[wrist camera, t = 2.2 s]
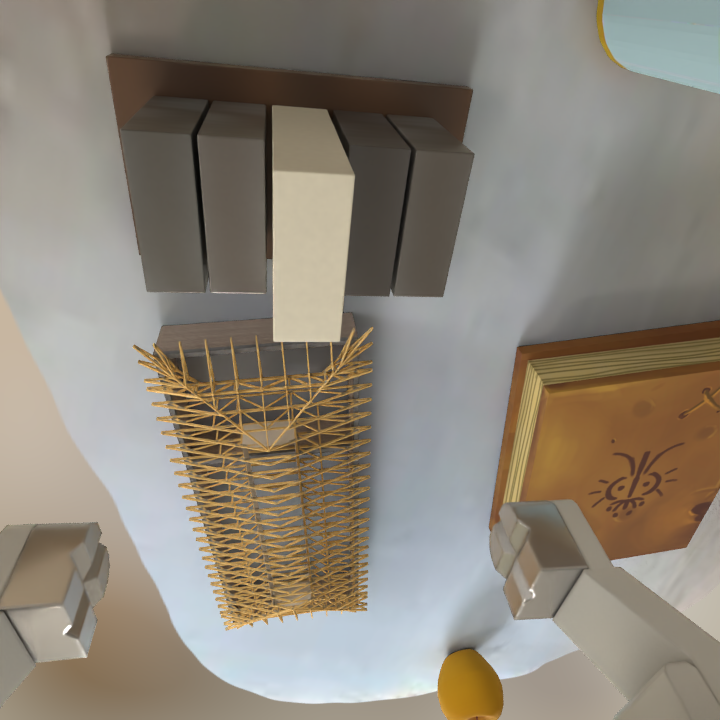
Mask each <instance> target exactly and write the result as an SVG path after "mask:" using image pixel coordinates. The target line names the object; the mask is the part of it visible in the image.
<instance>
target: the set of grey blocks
mask: <svg viewBox="0 0 720 720" xmlns="http://www.w3.org/2000/svg"><path fill="white" fill-rule="evenodd" d="M106 61H107V67H108V73H109V79H110V85H111V91H112V96H113V102H114V108H115V114H116V120H117V126H118V132H119V138H120V144H121V150H122V155H123V161H124V167H125V173H126V179H127V185H128V191H129V197H130V203H131V208H132V214H133V220H134V226H135V232H136V238H137V244H138V250H139V255H141V259H142V265H143V271H144V277H145V283H146V289H147V292H171V293H205V292H206V287H207V282H208V278H209V285H210V292H211V293H244V294H266V292H267V259H273V240H272V105H278V106H290V107H303V108H315V109H326V110H327V111H328V114H329V116H330V118H331V121H332V123H333V125H334V128H335V130H336V132H337V135H338V137H339V139H340V142H341V144H342V146H343V149H344V151H345V153H346V156H347V158H348V160H349V163H350V165H351V167H352V170H353V172H354V174H355V182H354V193H353V204H352V215H351V226H350V237H349V248H348V259H347V270H346V281H345V292H344V296H389V294H390V288H391V290H392V293H393V296H408V297H443V294H444V290H445V285H446V281H447V276H448V272H449V267H450V263H451V258H452V254H453V249H454V245H455V240H456V236H457V231H458V227H459V222H460V218H461V213H462V209H463V204H464V200H465V195H466V190H467V186H468V181H469V177H470V172H471V168H472V163H473V159H474V153H473V152H472V151H471V150H469V149H468V148H467V147H466V146H465V145H464V144H462V142H463V137H464V132H465V127H466V122H467V118H468V113H469V108H470V103H471V98H472V93H473V89H471V88H469V87H467V86H458V85H447V84H436V83H425V82H415V81H404V80H393V79H382V78H371V77H360V76H350V75H339V74H328V73H317V72H306V71H295V70H285V69H274V68H263V67H252V66H241V65H230V64H220V63H209V62H198V61H187V60H176V59H165V58H155V57H144V56H133V55H122V54H110V55H107V56H106Z"/></svg>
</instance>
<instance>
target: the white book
mask: <svg viewBox="0 0 720 720" xmlns="http://www.w3.org/2000/svg"><path fill="white" fill-rule="evenodd" d="M354 182H355V174H354V172H353V170H352V167H351V165H350V163H349V160H348V158H347V156H346V153H345V151H344V149H343V146H342V144H341V142H340V139H339V137H338V135H337V132H336V130H335V128H334V125H333V123H332V121H331V118H330V116H329V114H328V111H327V110H326V109H315V108H303V107H290V106H278V105H272V240H273V341H274V342H340V336H341V325H342V314H343V303H344V292H345V281H346V270H347V259H348V248H349V237H350V226H351V215H352V204H353V193H354Z"/></svg>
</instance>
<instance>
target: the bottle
mask: <svg viewBox="0 0 720 720" xmlns="http://www.w3.org/2000/svg"><path fill="white" fill-rule="evenodd" d="M597 27H598V33H599V39H600V42H601V44H602V46H603V48H604V50H605V52H606V53H607V55H608V57H609V58H610V59H611V60H612V61H614V62H615V63H616V64H618V65H619V66H620V67H622V68H624V69H627V70H630V71H633V72H636V73H640V74H644V75H648V76H652V77H656V78H660V79H664V80H668V81H671V82H675V83H679V84H683V85H687V86H691V87H695V88H699V89H703V90H706V91H710V92H714V93H718V94H720V0H598V7H597Z"/></svg>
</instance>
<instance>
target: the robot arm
mask: <svg viewBox="0 0 720 720" xmlns="http://www.w3.org/2000/svg"><path fill="white" fill-rule="evenodd" d="M498 514H499V516H500V519H501V520H500V521H499V522H498V523H496V524H495V525H494V526H493V527H492V530H491V533H490V553H491V558H492V561H493V564H494V567H495V569H496V570H497V571H498V572H499V573H500V574H501V575H502V576H503V577H504V578H505V579H506V581H505V584H504V588H503V591H504V594H505V596H506V599H507V602H508V604H509V607H510V609H511V612H512V615H513V617H514V620H525V619H543V618H553V621H554V623H555V624H556V625H557V626H558V627H559V628H560V629H561V630H562V631H563V632H564V633H565V634H566V635H567V636H568V637H569V638H570V640H571V641H572V642H573V643H574V644H575V645H576V646H577V647H578V648H579V649H580V650H581V651H582V652H583V653H584V654H585V655H586V656H587V658H588V659H589V660H590V661H591V662H592V663H593V664H594V665H595V666H596V667H597V668H598V669H599V670H600V671H601V672H602V673H603V674H604V676H605V677H606V678H607V679H608V680H609V681H610V682H611V683H612V684H613V685H614V686H615V687H616V688H617V689H618V690H619V692H621V694H623V696H624V697H626V699H627V700H628V701H629V702H628V703H627V704H626V705H625V706H624V707H623V708H622V709H621V710H620V711H619V712H618V713H617V714H616V715H615V716H614V719H613V720H720V642H718V641H717V640H716V639H715V638H713V637H712V636H711V635H709V634H708V633H707V632H705V631H704V630H703V629H701V628H700V627H699V626H697V625H696V624H695V623H694V622H692V621H691V620H690V619H688V618H687V617H686V616H684V615H683V614H682V613H680V612H679V611H678V610H676V609H675V608H674V607H672V606H671V605H670V604H669V603H667V602H666V601H665V600H663V599H662V598H661V597H659V596H658V595H657V594H655V593H654V592H653V591H651V590H650V589H649V588H647V587H646V586H645V585H643V584H642V583H641V582H640V581H638V580H637V579H636V578H634V577H633V576H632V575H630V574H629V573H628V572H626V571H625V570H624V569H622V568H621V567H614V566H613V565H612V563H611V561H610V559H609V558H608V556H607V554H606V553H605V551H604V549H603V547H602V546H601V544H600V542H599V541H598V539H597V537H596V536H595V534H594V532H593V530H592V529H591V527H590V525H589V524H588V522H587V520H586V518H585V517H584V515H583V513H582V512H581V510H580V508H579V506H578V505H577V503H575V502H574V501H573V500H569V499H566V500H551V501H548V500H538V501H522V502H506V503H504V504H503V505H502V506H501V508H500V510H499V513H498ZM101 534H102V532H101V529H100V527H99V525H98V523H97V522H92V523H61V524H60V523H59V524H23V525H7V526H6V527H5V528H4V529H3V530H2V531H1V532H0V708H1V707H2V705H3V704H4V703H5V702H6V701H7V699H8V698H9V697H10V696H11V695H12V693H13V692H14V691H15V690H16V688H18V686H19V685H20V684H21V683H22V682H23V681H24V679H25V678H26V677H27V676H28V675H29V673H30V672H31V671H32V670H33V669H34V668H35V666H36V665H35V663H38V662H47V661H55V660H65V659H74V658H83V657H87V654H88V651H89V647H90V644H91V640H92V637H93V633H94V630H95V626H96V623H97V618H96V616H95V613H94V610H93V607H94V606H95V605H96V604H97V603H98V602H99V601H100V600H101V599H102V598H103V597H104V594H105V591H106V587H107V583H108V576H109V568H110V563H109V554H108V551H107V547H106V546H104V545H102V544H101V543H99V540H100V537H101Z"/></svg>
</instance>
